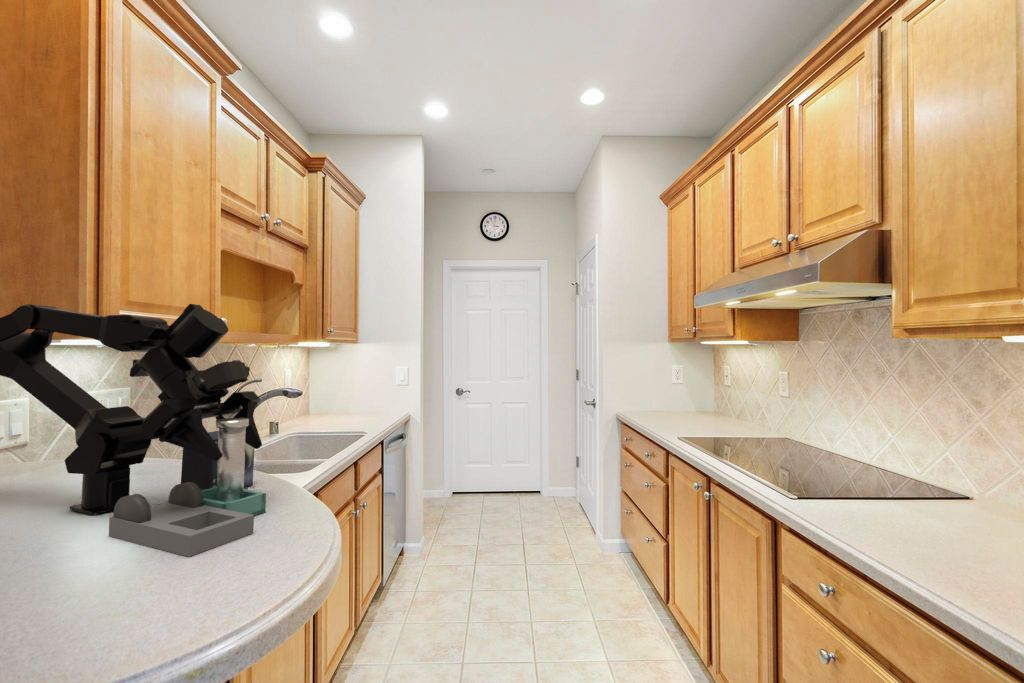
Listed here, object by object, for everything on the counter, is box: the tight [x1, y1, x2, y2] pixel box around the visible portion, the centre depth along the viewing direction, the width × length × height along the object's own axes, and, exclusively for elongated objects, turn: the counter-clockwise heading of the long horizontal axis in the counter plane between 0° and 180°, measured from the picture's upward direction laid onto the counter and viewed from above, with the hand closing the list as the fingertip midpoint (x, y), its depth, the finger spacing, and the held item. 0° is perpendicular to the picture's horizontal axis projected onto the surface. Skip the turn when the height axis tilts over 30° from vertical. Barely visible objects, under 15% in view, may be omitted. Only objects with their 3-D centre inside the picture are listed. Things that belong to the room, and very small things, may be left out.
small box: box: [180, 430, 255, 491], centre depth 88 cm, size 11×6×10 cm, turn 168°
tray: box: [201, 487, 267, 517], centre depth 76 cm, size 10×7×3 cm
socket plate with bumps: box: [108, 482, 255, 558], centre depth 67 cm, size 16×9×6 cm, turn 68°
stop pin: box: [215, 418, 249, 503], centre depth 75 cm, size 4×4×14 cm
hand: (240, 452), depth 75 cm, fingers open, 9 cm apart
